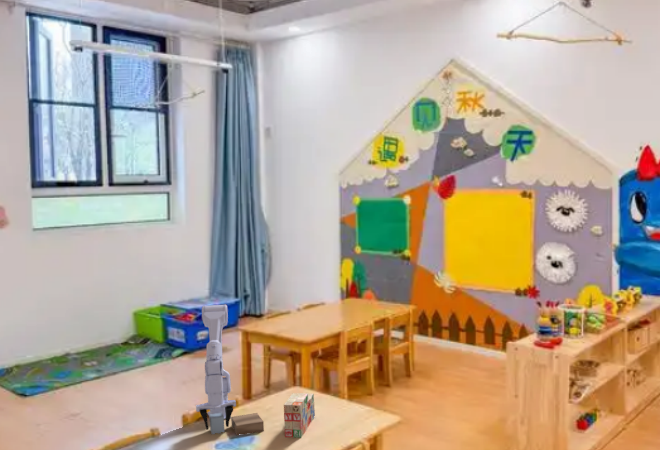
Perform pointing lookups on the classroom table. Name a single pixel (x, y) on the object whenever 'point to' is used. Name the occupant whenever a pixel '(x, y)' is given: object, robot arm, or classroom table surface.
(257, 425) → the walnut base
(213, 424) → the grey block
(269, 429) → the classroom table surface
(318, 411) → the classroom table surface
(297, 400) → the stack of blocks
